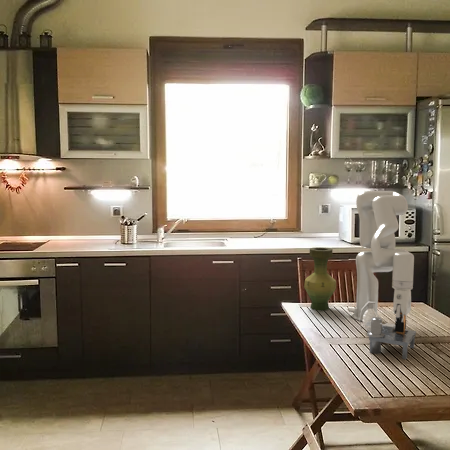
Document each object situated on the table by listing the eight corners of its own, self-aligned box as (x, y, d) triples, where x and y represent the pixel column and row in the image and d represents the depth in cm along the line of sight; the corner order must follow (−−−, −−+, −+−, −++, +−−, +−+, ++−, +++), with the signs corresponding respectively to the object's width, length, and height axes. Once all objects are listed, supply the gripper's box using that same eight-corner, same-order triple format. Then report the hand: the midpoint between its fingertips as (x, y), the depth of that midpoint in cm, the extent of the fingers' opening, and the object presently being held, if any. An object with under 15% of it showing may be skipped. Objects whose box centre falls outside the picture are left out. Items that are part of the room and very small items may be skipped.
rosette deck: (357, 351, 191) (358, 318, 189) (369, 338, 205) (370, 308, 203) (406, 360, 181) (407, 326, 180) (415, 347, 195) (416, 314, 194)
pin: (393, 334, 193) (394, 309, 192) (396, 331, 197) (397, 307, 196) (404, 336, 191) (406, 311, 190) (407, 333, 195) (408, 308, 194)
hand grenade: (360, 333, 212) (361, 303, 210) (357, 328, 218) (358, 299, 216) (379, 334, 211) (380, 304, 209) (375, 329, 217) (377, 300, 216)
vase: (310, 302, 262) (311, 245, 259) (340, 306, 254) (341, 248, 250) (298, 309, 248) (299, 250, 244) (329, 314, 240) (331, 252, 236)
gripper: (408, 289, 183) (406, 338, 185) (416, 281, 197) (414, 326, 199) (387, 287, 187) (385, 334, 189) (397, 279, 201) (395, 323, 203)
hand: (400, 330), depth 194 cm, fingers closed on pin, 3 cm apart
